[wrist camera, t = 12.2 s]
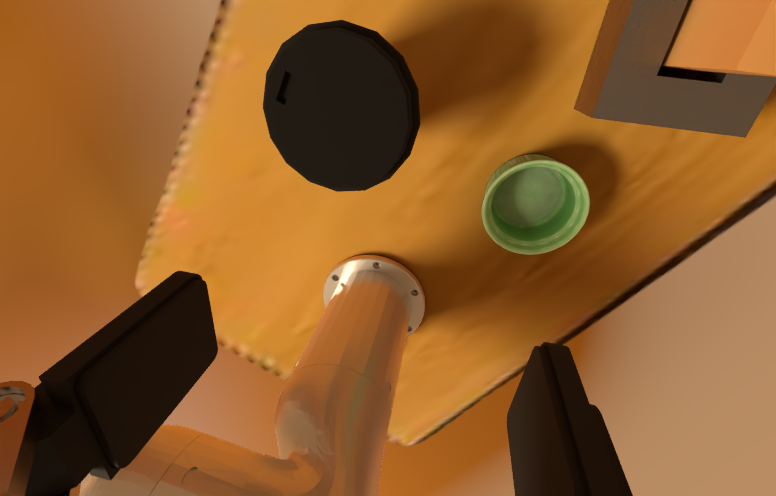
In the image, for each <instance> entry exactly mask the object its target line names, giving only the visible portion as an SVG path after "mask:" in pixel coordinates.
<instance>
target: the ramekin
mask: <svg viewBox="0 0 776 496" xmlns="http://www.w3.org/2000/svg"><path fill="white" fill-rule="evenodd" d="M589 208H590V196H589V192H588V188H587V186H586V184H585V182H584V180H583V179H582V178H581V176H580V175H579V174H578V173H577V172H576V171H575V170H574V169H572V168H571V167H569V166H567V165H566V164H563V163H561V162H558V161H556V160H554V159H553V158H550V157H547V156H544V155H539V154H527V155H522V156H518V157H515V158H513V159H511V160H509V161H507V162H506V163H504V164H503V165H501V166H500V167H499V168H498V169H497V170H496V171H495V172H494V174H493V175H492V177H491V178H490V180H489V182H488V184H487V187H486V191H485V196H484V199H483V203H482V220H483V224H484V227H485V229H486V231H487V233H488V234H489V236H490V237H491V238H492V240H493V241H494V242H496V243H497V244H498V245H499V246H501V247H502V248H504V249H506V250H508V251H511V252H514V253H518V254H524V255H535V254H542V253H546V252H550V251H553V250H555V249H557V248H559V247H561V246H563V245H565V244H566V243H567V242H569V241H570V240H571V239H572V238H574V237H575V236H576V234H577V233H578V232H579V231H580V230H581V228H582V227H583V225H584V223H585V222H586V219H587V217H588V213H589Z"/></svg>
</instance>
